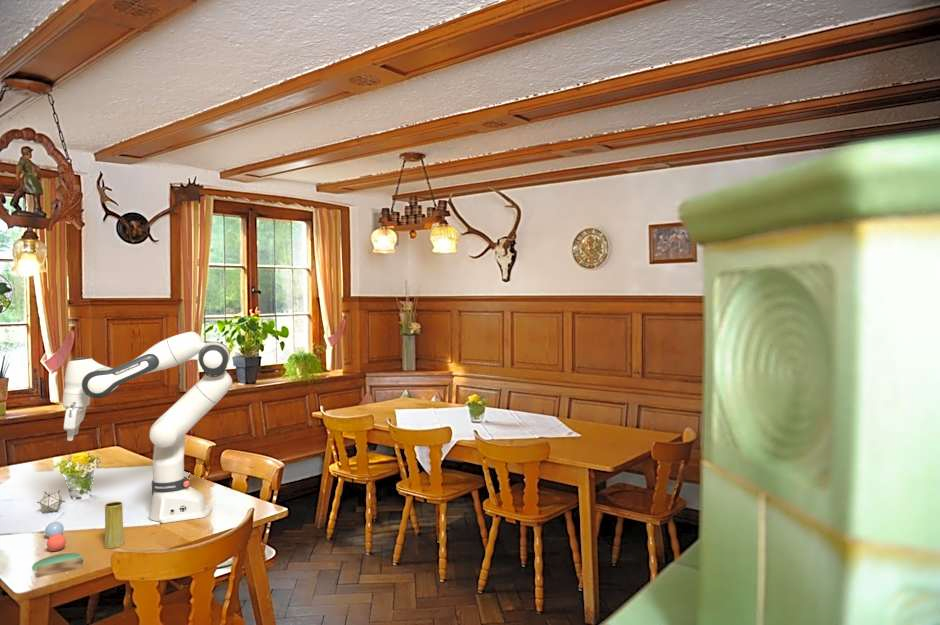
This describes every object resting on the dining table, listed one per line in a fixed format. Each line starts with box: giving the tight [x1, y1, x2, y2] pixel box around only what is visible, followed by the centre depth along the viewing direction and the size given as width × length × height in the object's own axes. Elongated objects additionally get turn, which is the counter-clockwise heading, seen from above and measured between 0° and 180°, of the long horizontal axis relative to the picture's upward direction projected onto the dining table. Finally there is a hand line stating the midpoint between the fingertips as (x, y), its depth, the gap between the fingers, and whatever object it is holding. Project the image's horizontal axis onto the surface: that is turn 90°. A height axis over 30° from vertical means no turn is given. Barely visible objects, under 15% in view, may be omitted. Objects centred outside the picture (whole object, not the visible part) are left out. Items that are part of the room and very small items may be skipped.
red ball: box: [46, 533, 67, 552], centre depth 215 cm, size 6×6×6 cm
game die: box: [36, 490, 66, 514], centre depth 254 cm, size 9×8×10 cm
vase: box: [103, 501, 125, 549], centre depth 220 cm, size 6×6×14 cm
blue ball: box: [44, 521, 65, 539], centre depth 227 cm, size 6×6×6 cm
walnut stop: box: [36, 558, 84, 578], centre depth 199 cm, size 12×2×2 cm, turn 125°
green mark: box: [31, 552, 85, 572], centre depth 206 cm, size 14×14×1 cm
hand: (72, 437), depth 239 cm, fingers open, 8 cm apart
